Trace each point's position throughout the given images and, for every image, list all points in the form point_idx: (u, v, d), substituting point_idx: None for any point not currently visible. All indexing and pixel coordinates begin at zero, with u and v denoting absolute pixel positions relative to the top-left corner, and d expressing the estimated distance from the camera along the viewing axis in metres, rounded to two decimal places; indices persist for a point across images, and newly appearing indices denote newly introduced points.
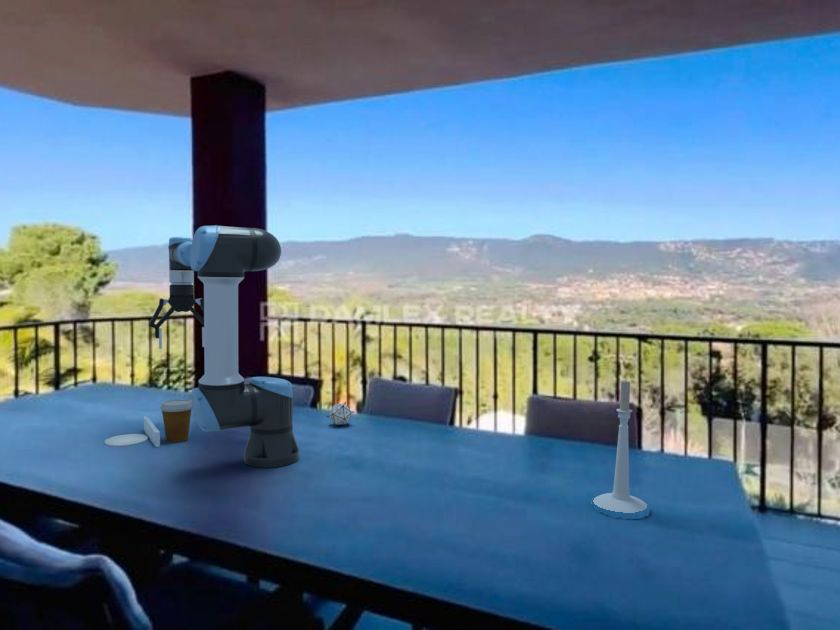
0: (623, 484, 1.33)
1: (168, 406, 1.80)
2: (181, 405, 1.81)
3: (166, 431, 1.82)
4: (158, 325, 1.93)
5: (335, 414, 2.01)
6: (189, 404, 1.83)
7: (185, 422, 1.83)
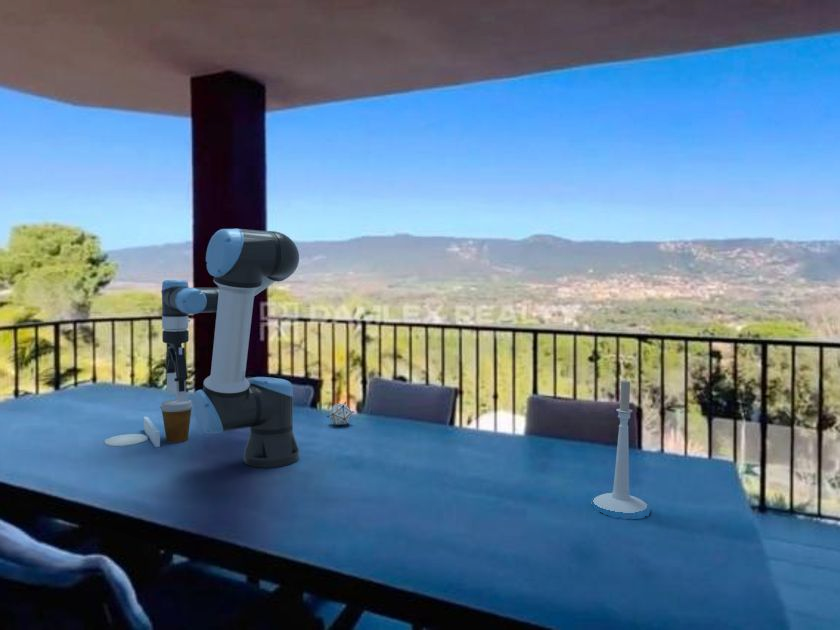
0: (623, 484, 1.33)
1: (168, 406, 1.80)
2: (181, 405, 1.81)
3: (166, 431, 1.82)
4: (167, 369, 1.89)
5: (335, 414, 2.01)
6: (189, 404, 1.83)
7: (185, 422, 1.83)
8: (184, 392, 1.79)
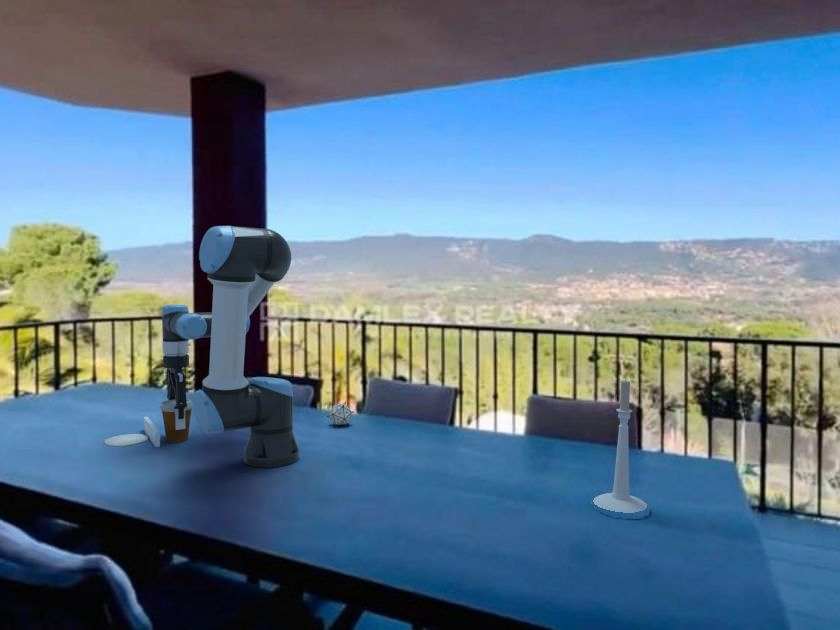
0: (623, 484, 1.33)
1: (168, 406, 1.80)
2: None
3: (166, 431, 1.82)
4: (168, 397, 1.88)
5: (335, 414, 2.01)
6: (189, 404, 1.83)
7: (185, 422, 1.83)
8: (184, 419, 1.80)
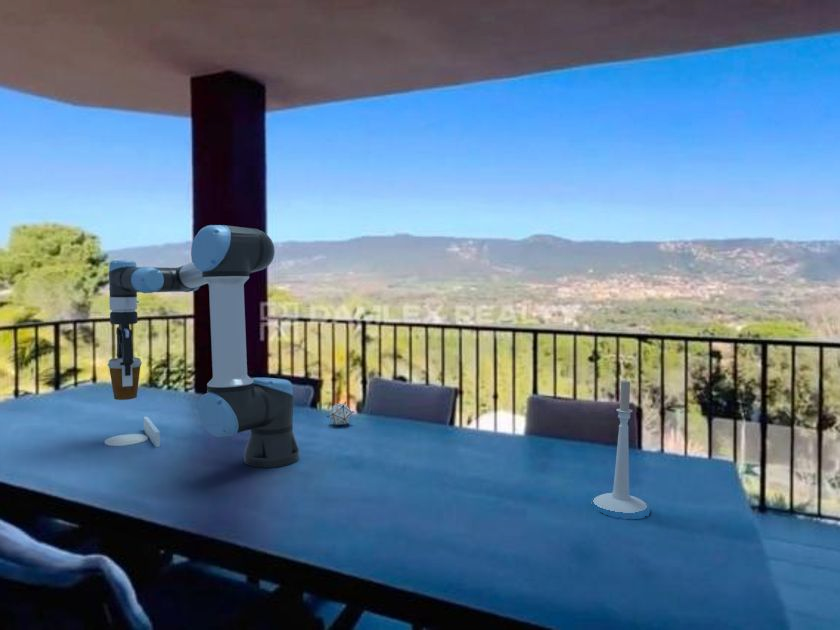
0: (623, 484, 1.33)
1: (115, 362, 1.77)
2: None
3: (113, 388, 1.79)
4: (117, 356, 1.86)
5: (335, 414, 2.01)
6: (137, 361, 1.81)
7: (133, 380, 1.80)
8: (131, 376, 1.78)
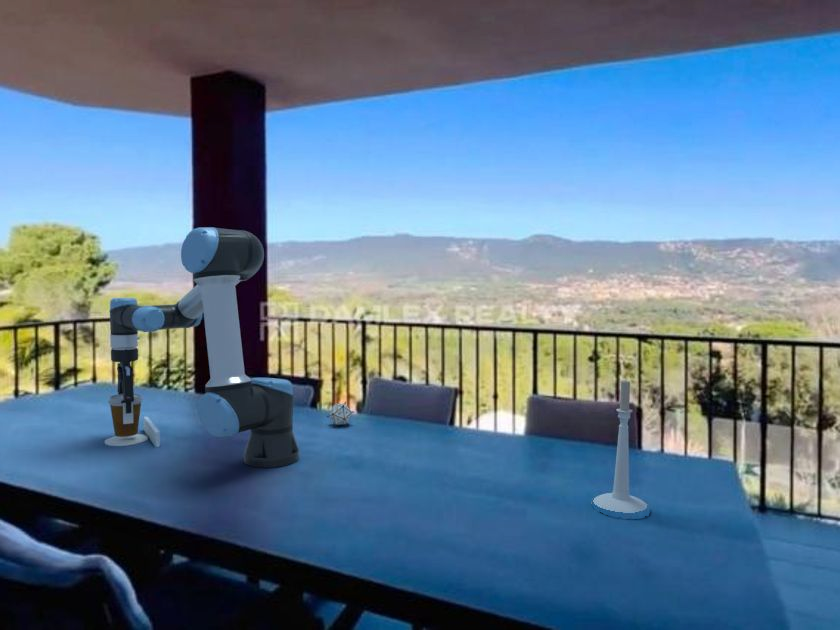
0: (623, 484, 1.33)
1: (116, 400, 1.78)
2: None
3: (114, 425, 1.80)
4: (118, 392, 1.86)
5: (335, 414, 2.01)
6: (138, 398, 1.82)
7: (134, 417, 1.81)
8: (131, 414, 1.79)
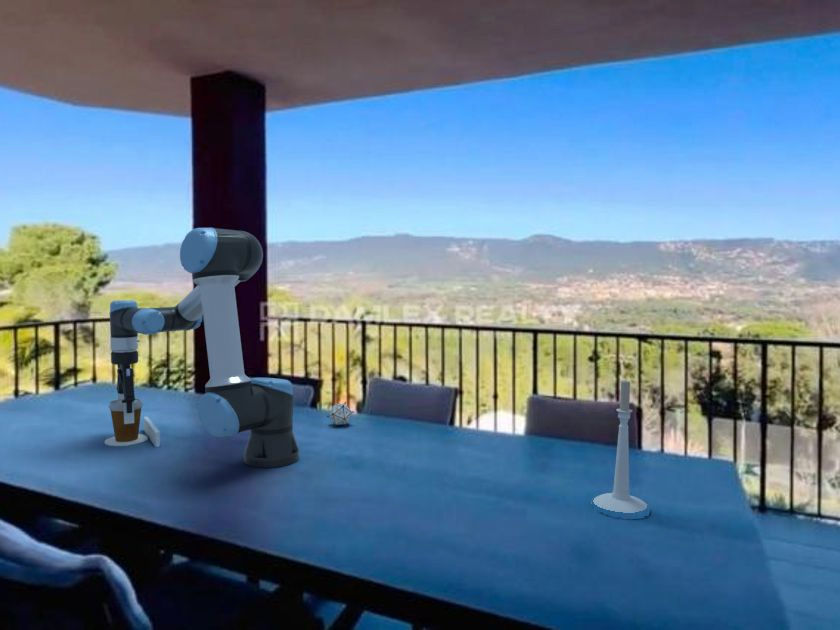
0: (623, 484, 1.33)
1: (116, 405, 1.78)
2: None
3: (115, 430, 1.80)
4: (118, 390, 1.88)
5: (335, 414, 2.01)
6: (138, 403, 1.82)
7: (134, 422, 1.81)
8: (132, 414, 1.77)
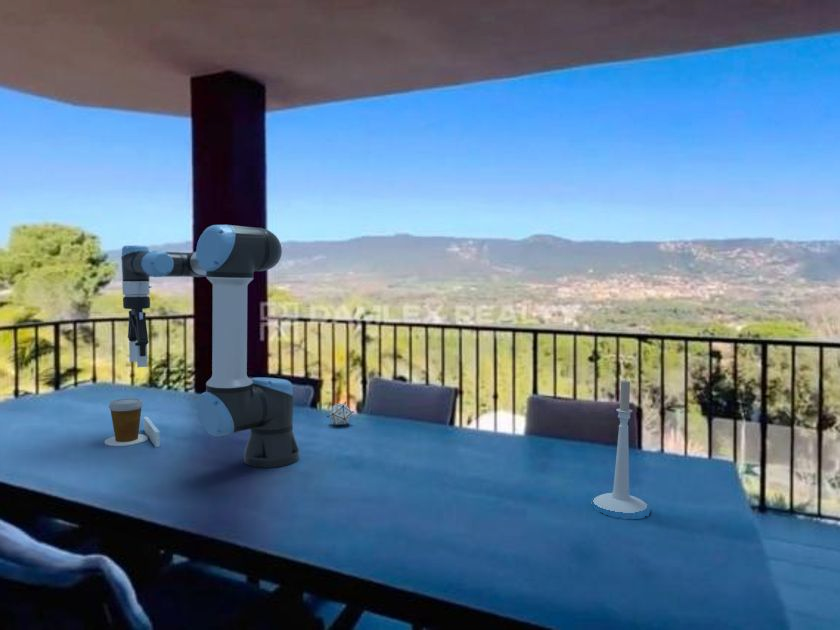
0: (623, 484, 1.33)
1: (116, 405, 1.78)
2: (129, 404, 1.79)
3: (115, 430, 1.80)
4: (129, 337, 1.88)
5: (335, 414, 2.01)
6: (138, 403, 1.82)
7: (134, 422, 1.81)
8: (145, 357, 1.78)
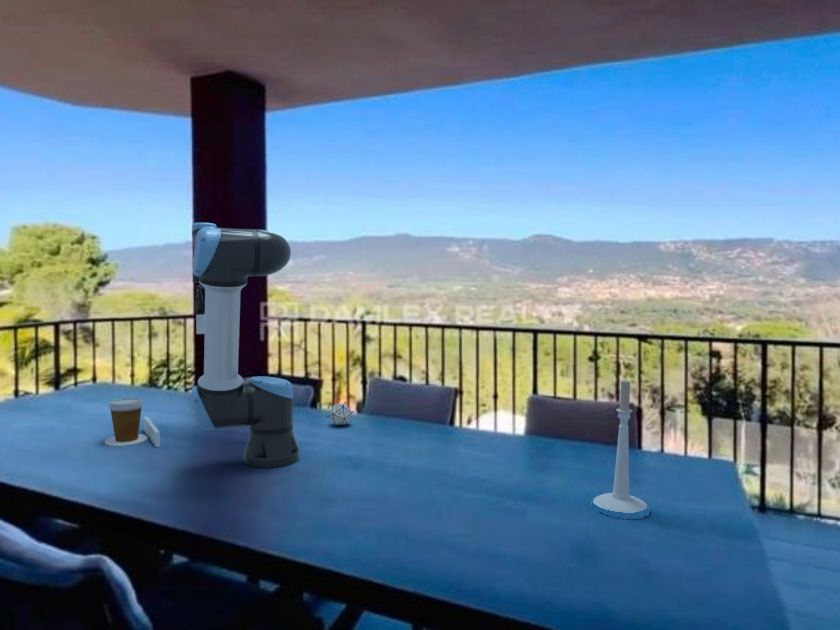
0: (623, 484, 1.33)
1: (116, 405, 1.78)
2: (129, 404, 1.79)
3: (115, 430, 1.80)
4: (196, 311, 1.98)
5: (335, 414, 2.01)
6: (138, 403, 1.82)
7: (134, 422, 1.81)
8: None
